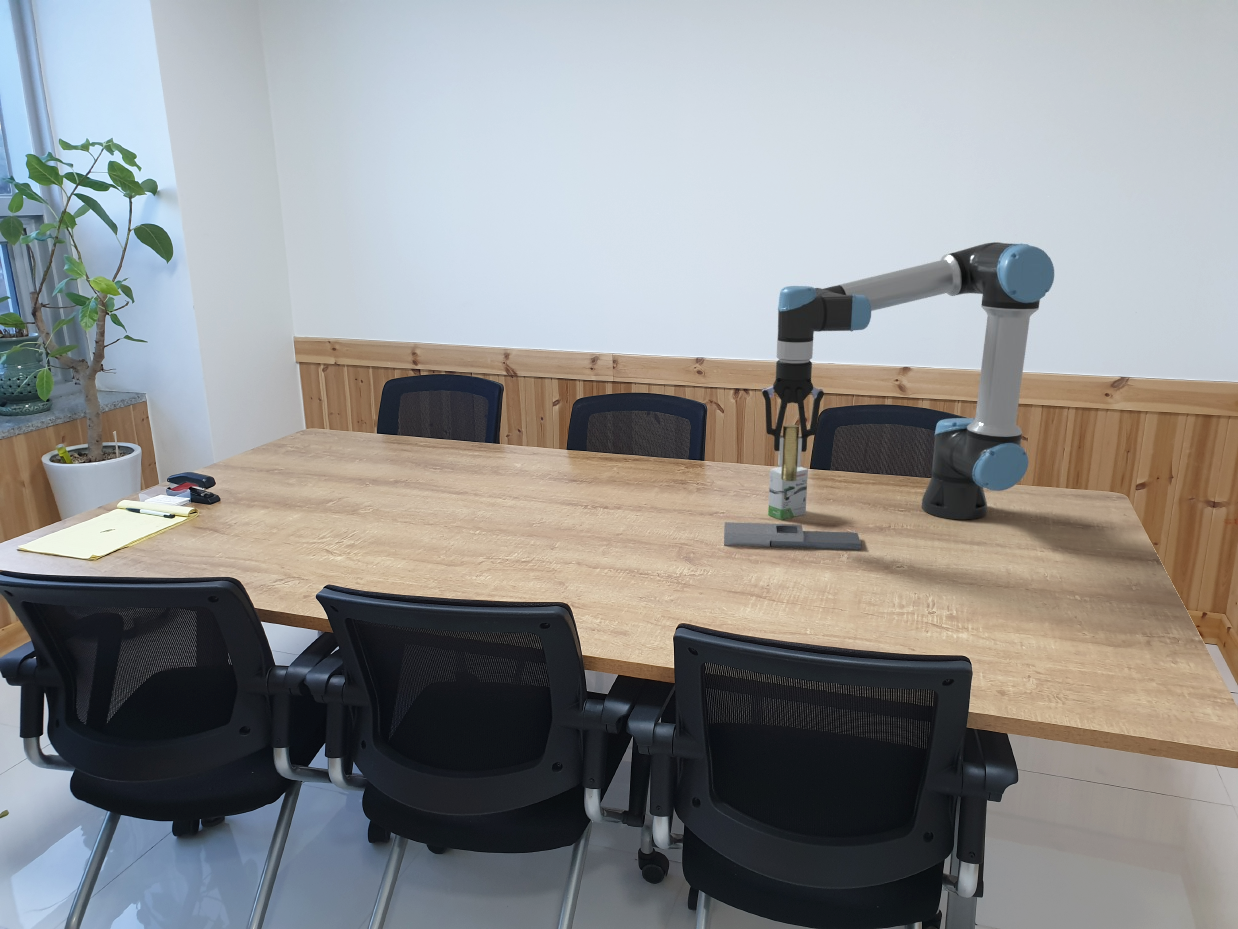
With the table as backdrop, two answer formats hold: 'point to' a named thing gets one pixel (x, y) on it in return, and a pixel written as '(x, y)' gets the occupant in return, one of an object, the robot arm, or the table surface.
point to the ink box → (787, 494)
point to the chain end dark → (823, 541)
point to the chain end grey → (760, 533)
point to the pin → (790, 452)
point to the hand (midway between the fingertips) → (789, 465)
